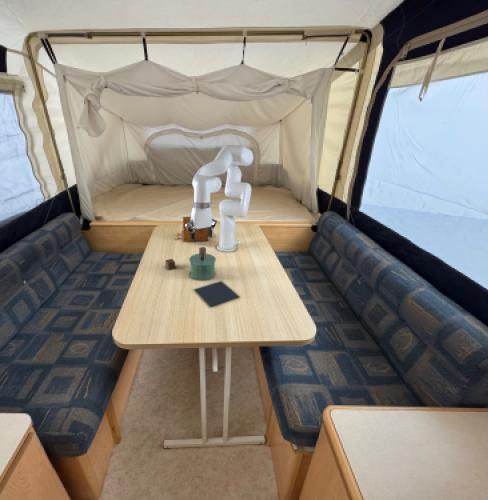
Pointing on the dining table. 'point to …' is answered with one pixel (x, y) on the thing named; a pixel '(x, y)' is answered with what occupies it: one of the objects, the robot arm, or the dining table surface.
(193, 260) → the lid
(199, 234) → the game set
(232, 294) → the mat
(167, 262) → the block
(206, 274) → the canister
